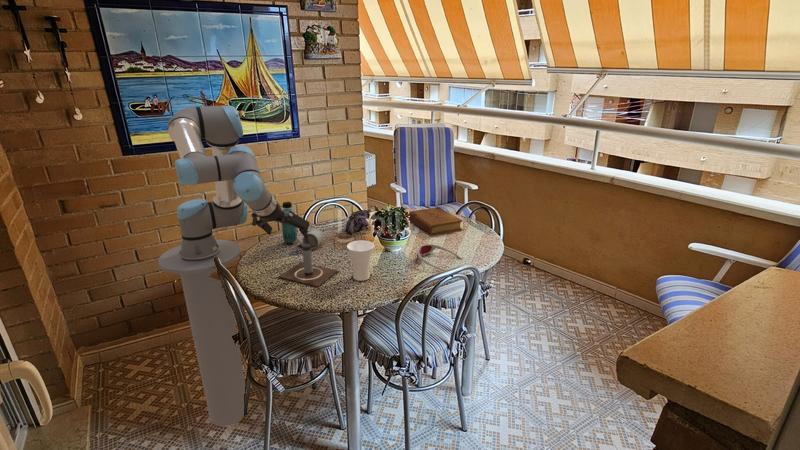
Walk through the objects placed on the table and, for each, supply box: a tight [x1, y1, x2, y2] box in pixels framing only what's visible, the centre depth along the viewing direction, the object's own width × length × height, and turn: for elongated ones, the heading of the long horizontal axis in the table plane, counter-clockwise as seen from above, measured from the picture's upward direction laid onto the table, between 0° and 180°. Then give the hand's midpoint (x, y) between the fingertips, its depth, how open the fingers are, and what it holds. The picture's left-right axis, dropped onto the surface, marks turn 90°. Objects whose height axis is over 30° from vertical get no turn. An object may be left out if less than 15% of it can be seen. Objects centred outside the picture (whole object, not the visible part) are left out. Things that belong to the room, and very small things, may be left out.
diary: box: [408, 206, 463, 237], centre depth 213 cm, size 23×19×6 cm
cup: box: [346, 239, 375, 282], centre depth 158 cm, size 10×10×14 cm
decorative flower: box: [345, 209, 372, 235], centre depth 207 cm, size 15×12×15 cm
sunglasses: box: [416, 243, 462, 272], centre depth 174 cm, size 17×17×5 cm
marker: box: [301, 244, 313, 275], centre depth 160 cm, size 3×3×12 cm
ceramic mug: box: [299, 228, 325, 250], centre depth 188 cm, size 11×8×8 cm
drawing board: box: [278, 262, 339, 288], centre depth 162 cm, size 18×14×1 cm
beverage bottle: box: [281, 201, 298, 243], centre depth 189 cm, size 6×7×20 cm
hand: (288, 232), depth 148 cm, fingers open, 13 cm apart
